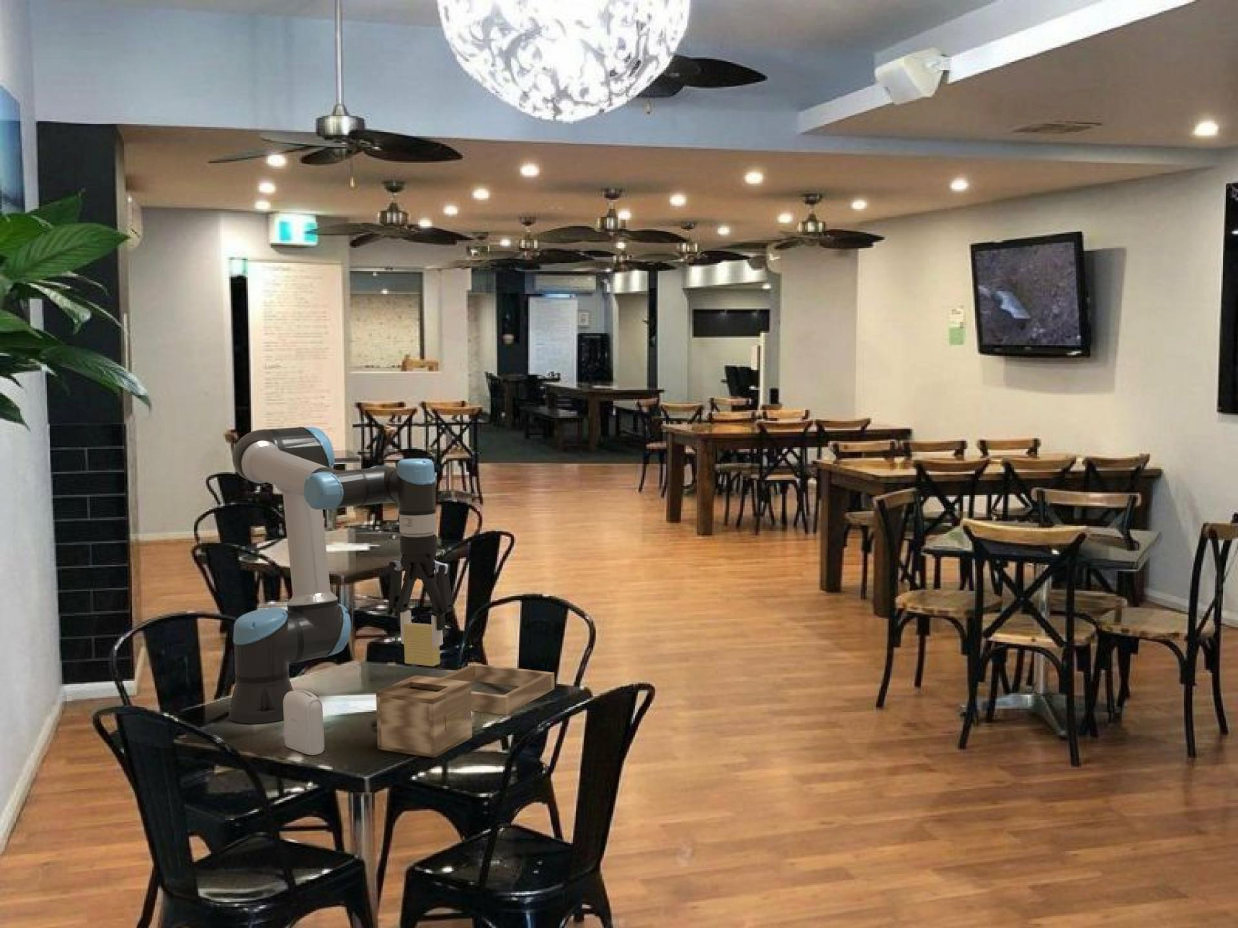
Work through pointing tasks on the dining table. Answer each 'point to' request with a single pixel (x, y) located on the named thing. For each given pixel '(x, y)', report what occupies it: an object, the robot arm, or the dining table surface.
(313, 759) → the dining table surface
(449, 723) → the coin box
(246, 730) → the dining table surface
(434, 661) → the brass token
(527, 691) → the frame
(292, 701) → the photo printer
